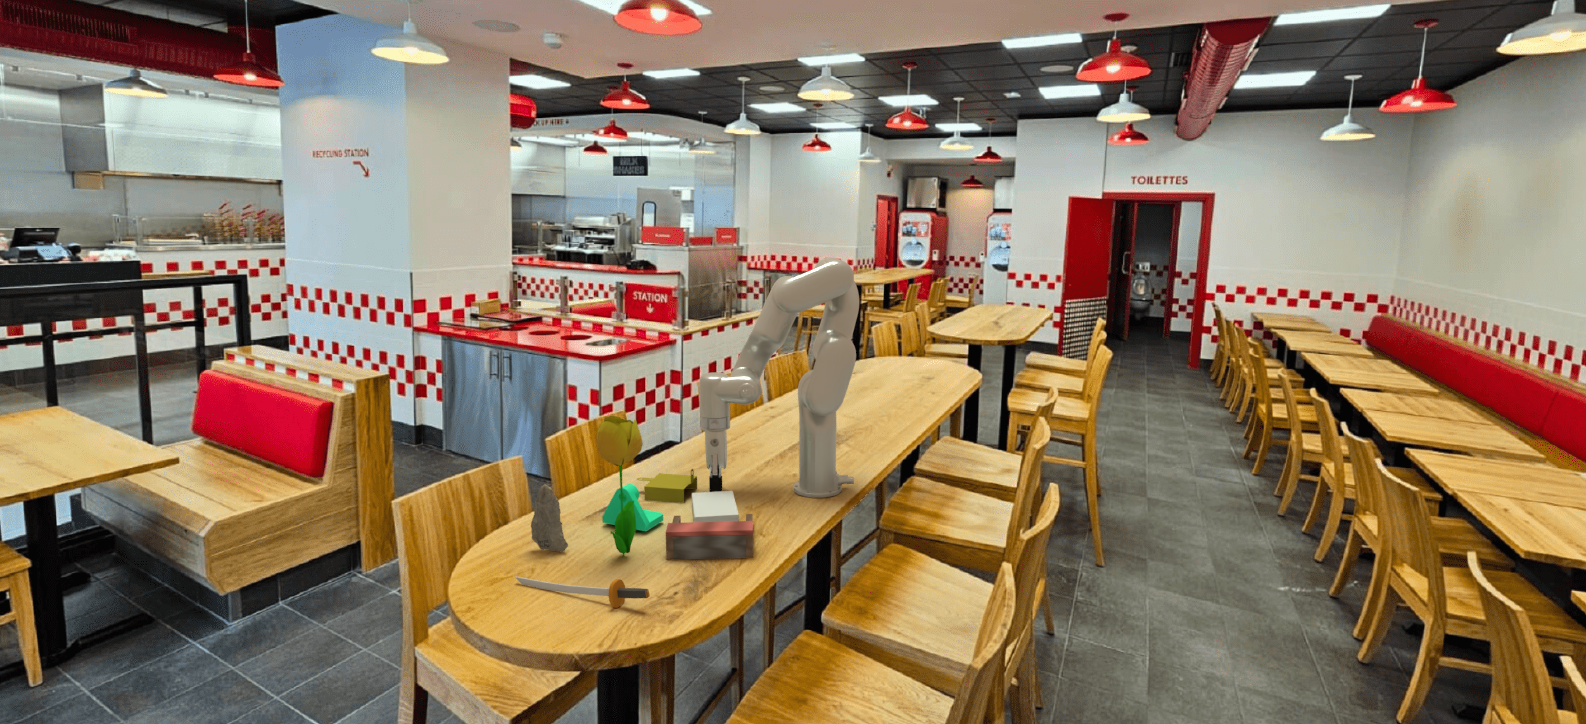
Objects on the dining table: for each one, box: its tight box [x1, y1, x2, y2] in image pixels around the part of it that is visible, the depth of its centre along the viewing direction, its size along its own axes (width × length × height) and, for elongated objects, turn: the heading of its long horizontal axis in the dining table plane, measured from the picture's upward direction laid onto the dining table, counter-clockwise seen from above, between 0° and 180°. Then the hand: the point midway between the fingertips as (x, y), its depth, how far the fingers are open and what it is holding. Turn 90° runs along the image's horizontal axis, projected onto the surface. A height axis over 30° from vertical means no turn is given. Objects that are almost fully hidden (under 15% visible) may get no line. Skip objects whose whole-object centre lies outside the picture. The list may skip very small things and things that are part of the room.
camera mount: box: [601, 483, 664, 532], centre depth 181 cm, size 12×8×10 cm, turn 65°
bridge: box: [665, 513, 754, 561], centre depth 173 cm, size 18×18×6 cm
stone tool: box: [530, 483, 569, 553], centre depth 167 cm, size 8×3×15 cm, turn 75°
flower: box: [596, 415, 643, 558], centre depth 163 cm, size 9×8×30 cm
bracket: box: [636, 468, 698, 504], centre depth 202 cm, size 16×8×15 cm
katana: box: [514, 575, 651, 609], centre depth 147 cm, size 30×4×5 cm, turn 68°
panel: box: [691, 490, 740, 522], centre depth 188 cm, size 10×16×4 cm, turn 9°
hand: (715, 491), depth 201 cm, fingers closed
